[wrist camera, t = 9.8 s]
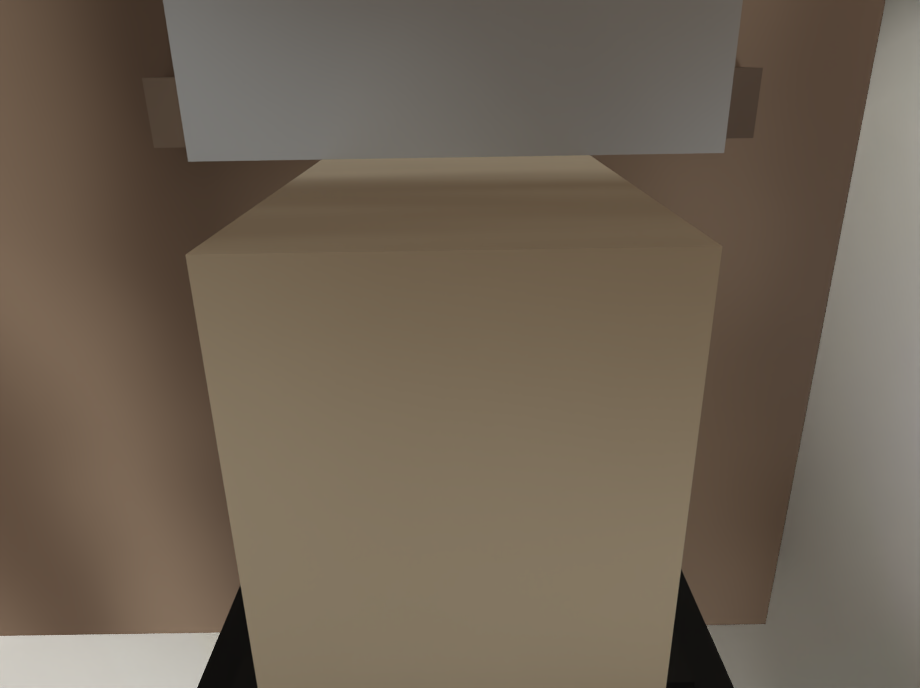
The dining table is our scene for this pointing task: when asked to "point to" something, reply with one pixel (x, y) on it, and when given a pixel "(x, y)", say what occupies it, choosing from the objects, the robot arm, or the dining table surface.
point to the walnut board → (250, 182)
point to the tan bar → (456, 330)
